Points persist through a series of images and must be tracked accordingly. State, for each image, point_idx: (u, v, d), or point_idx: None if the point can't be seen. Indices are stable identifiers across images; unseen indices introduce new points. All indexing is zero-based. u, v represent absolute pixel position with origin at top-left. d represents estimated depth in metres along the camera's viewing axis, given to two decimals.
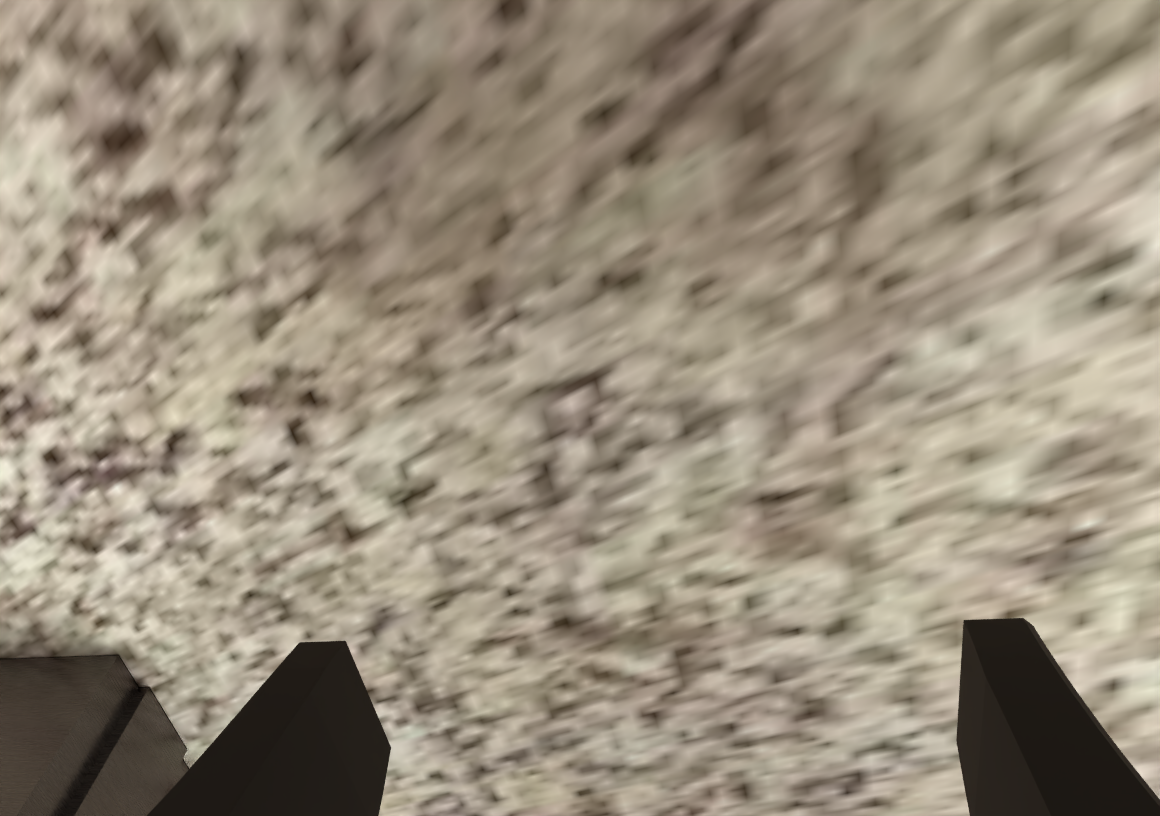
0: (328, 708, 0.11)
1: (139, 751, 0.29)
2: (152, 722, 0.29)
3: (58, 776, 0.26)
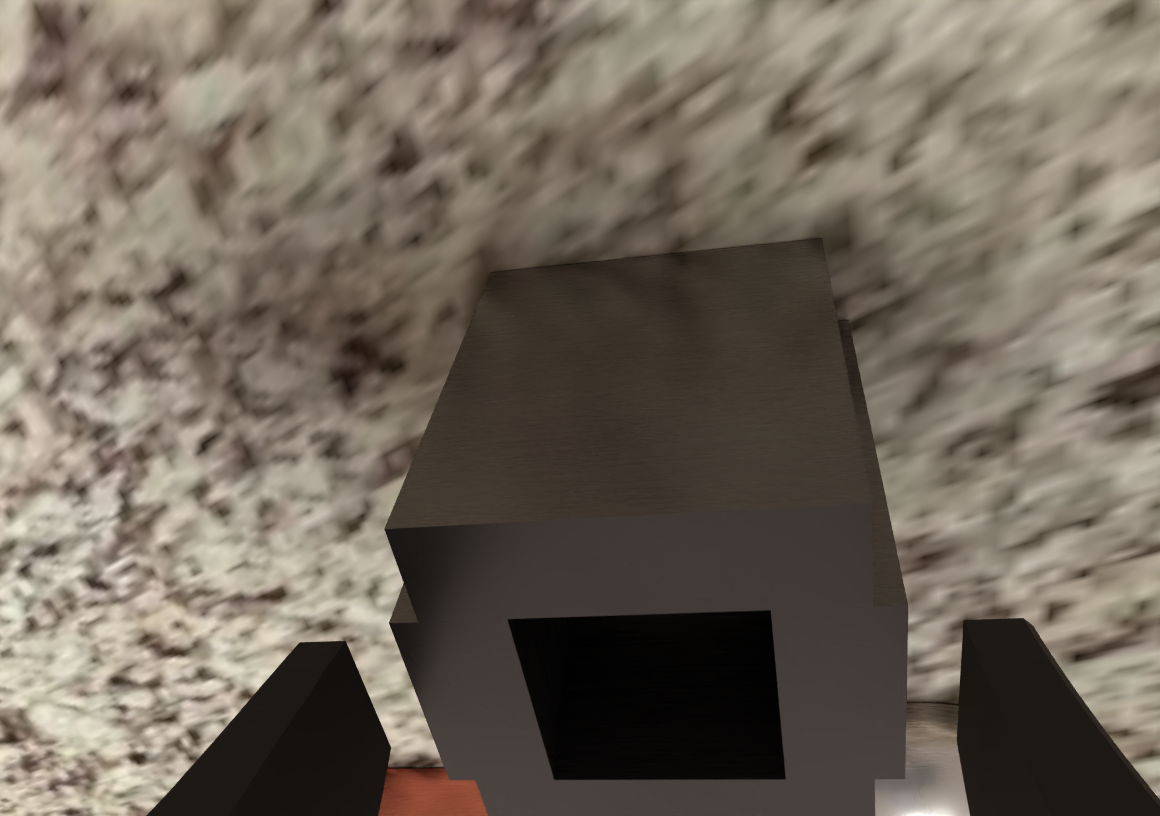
0: (328, 708, 0.11)
1: None
2: None
3: None
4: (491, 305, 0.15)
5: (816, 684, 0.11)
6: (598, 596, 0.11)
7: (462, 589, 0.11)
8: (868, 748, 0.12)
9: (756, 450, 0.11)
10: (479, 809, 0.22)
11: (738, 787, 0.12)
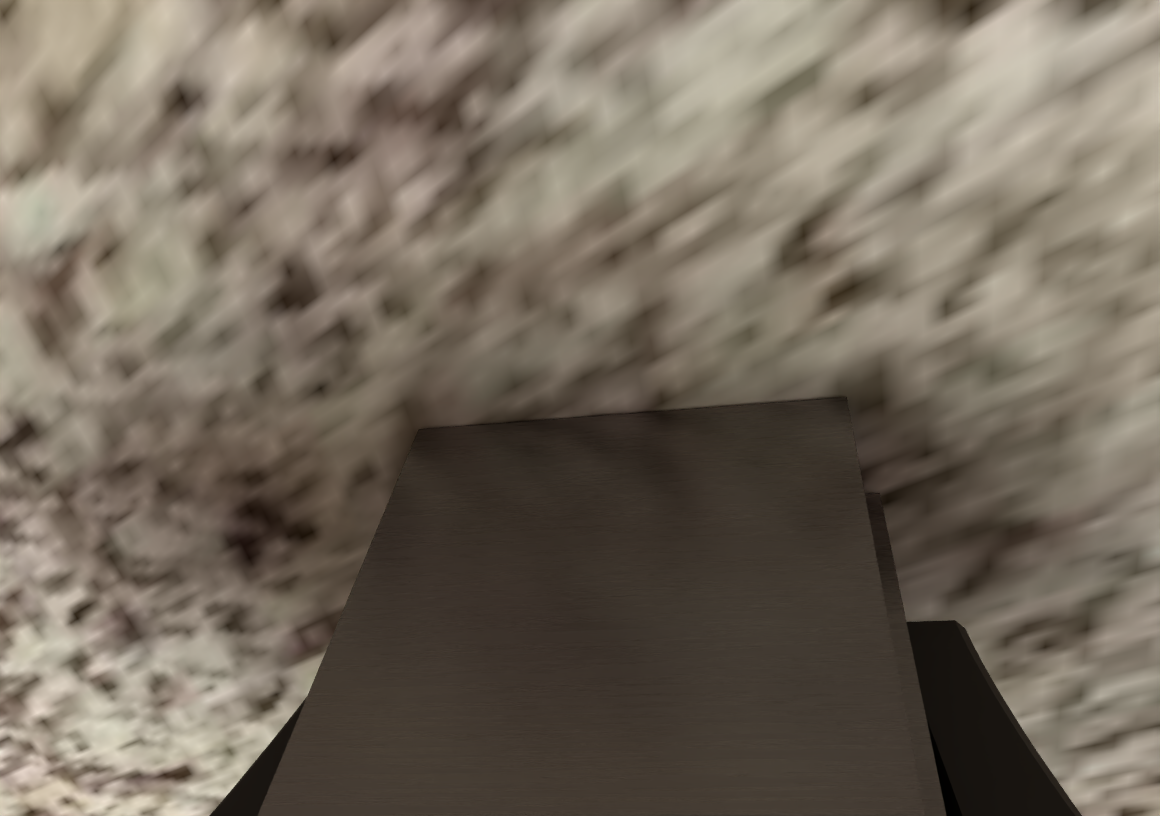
0: None
1: None
2: None
3: None
4: (413, 486, 0.11)
5: None
6: None
7: None
8: None
9: (766, 799, 0.07)
10: None
11: None
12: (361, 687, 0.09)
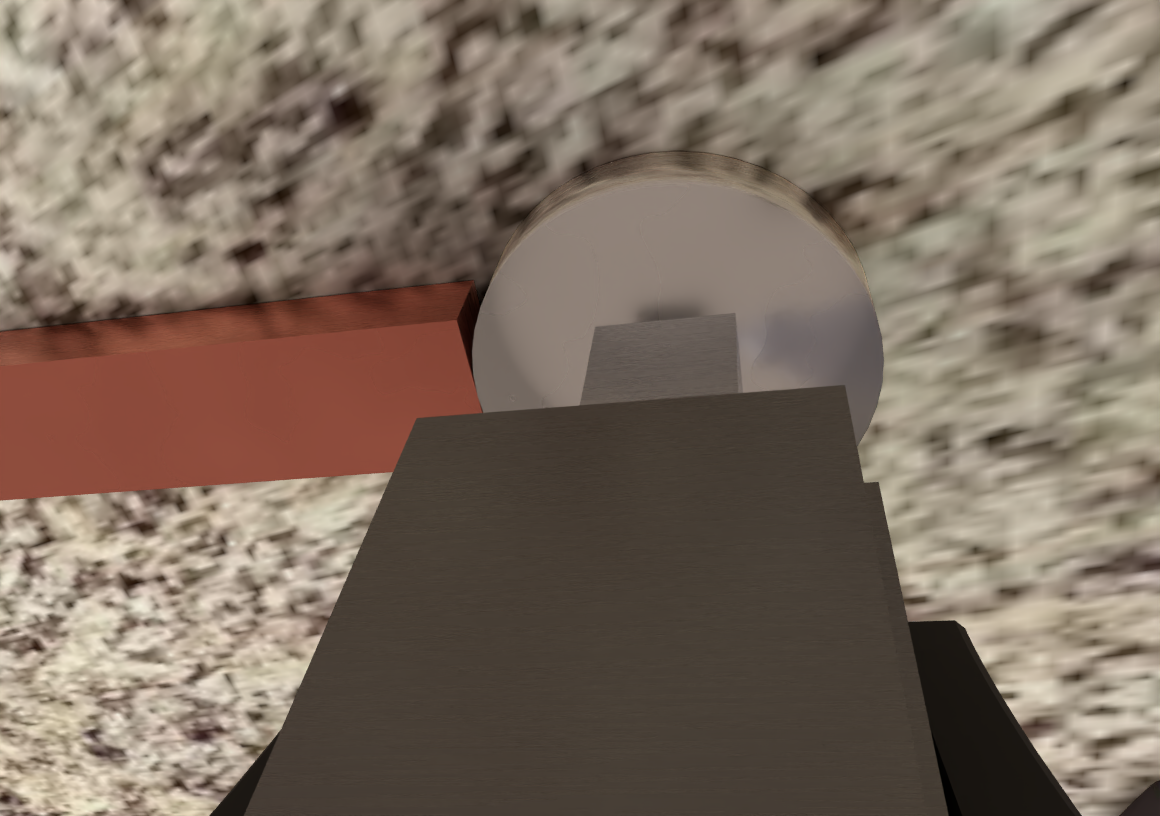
0: None
1: None
2: None
3: None
4: (410, 473, 0.11)
5: None
6: None
7: None
8: None
9: (761, 778, 0.07)
10: (173, 337, 0.19)
11: None
12: (357, 670, 0.09)
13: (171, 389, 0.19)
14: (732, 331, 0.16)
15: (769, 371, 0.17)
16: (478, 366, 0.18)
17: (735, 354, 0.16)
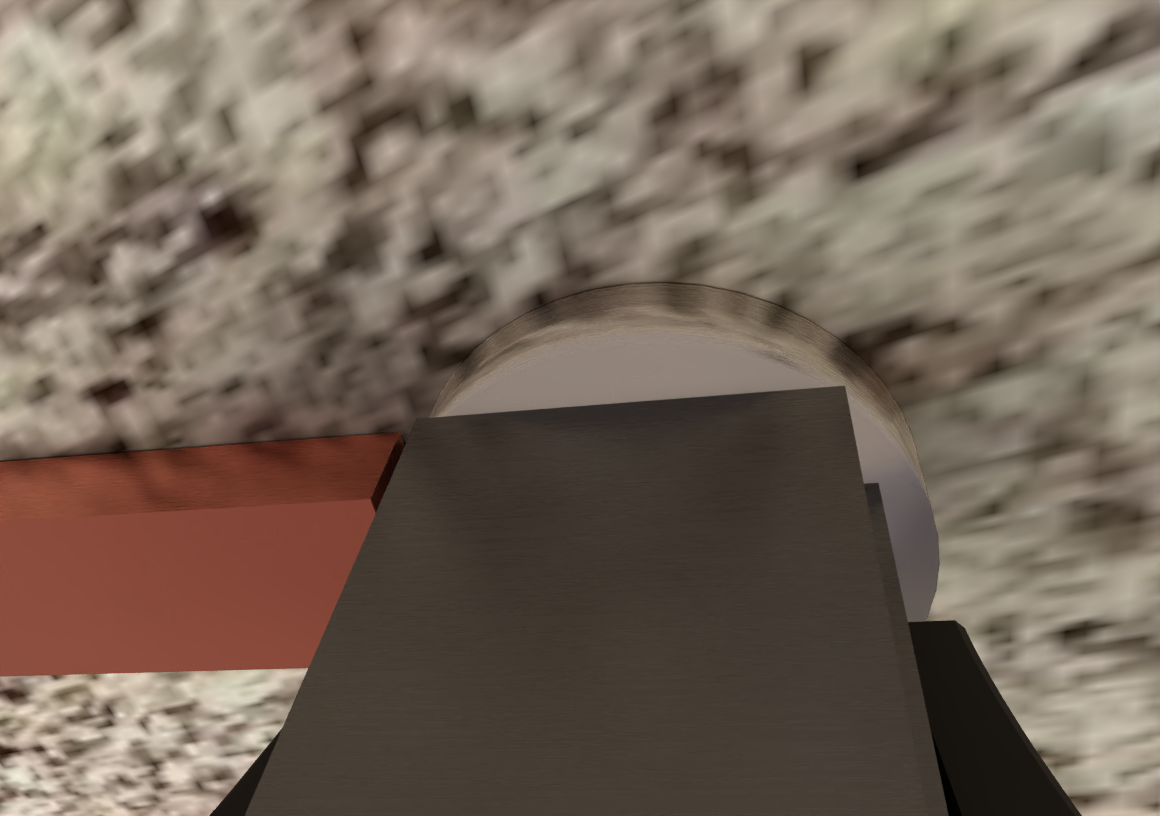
0: None
1: None
2: None
3: None
4: (410, 474, 0.11)
5: None
6: None
7: None
8: None
9: (763, 779, 0.07)
10: (12, 501, 0.15)
11: None
12: (357, 671, 0.09)
13: (11, 567, 0.15)
14: None
15: None
16: None
17: None
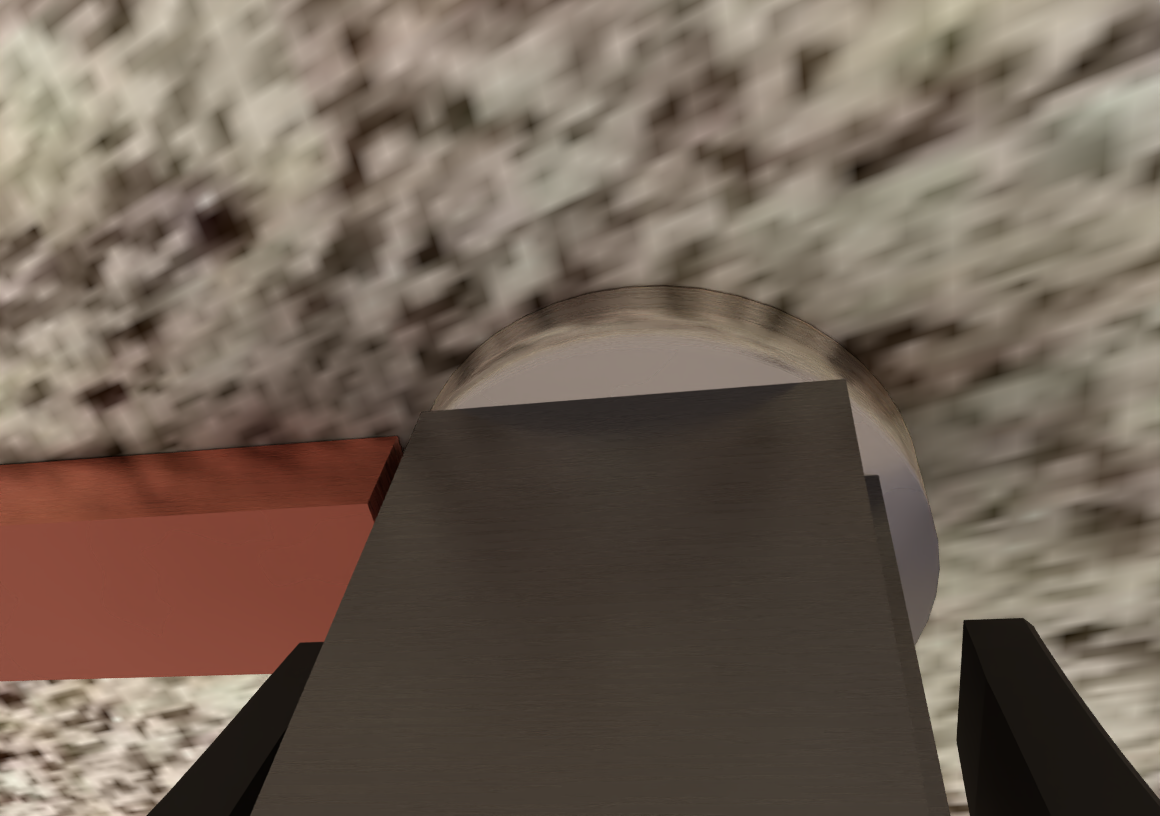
0: None
1: None
2: None
3: None
4: (416, 467, 0.11)
5: None
6: None
7: None
8: None
9: (764, 765, 0.07)
10: (7, 505, 0.15)
11: None
12: (365, 660, 0.09)
13: (6, 571, 0.15)
14: None
15: None
16: None
17: None
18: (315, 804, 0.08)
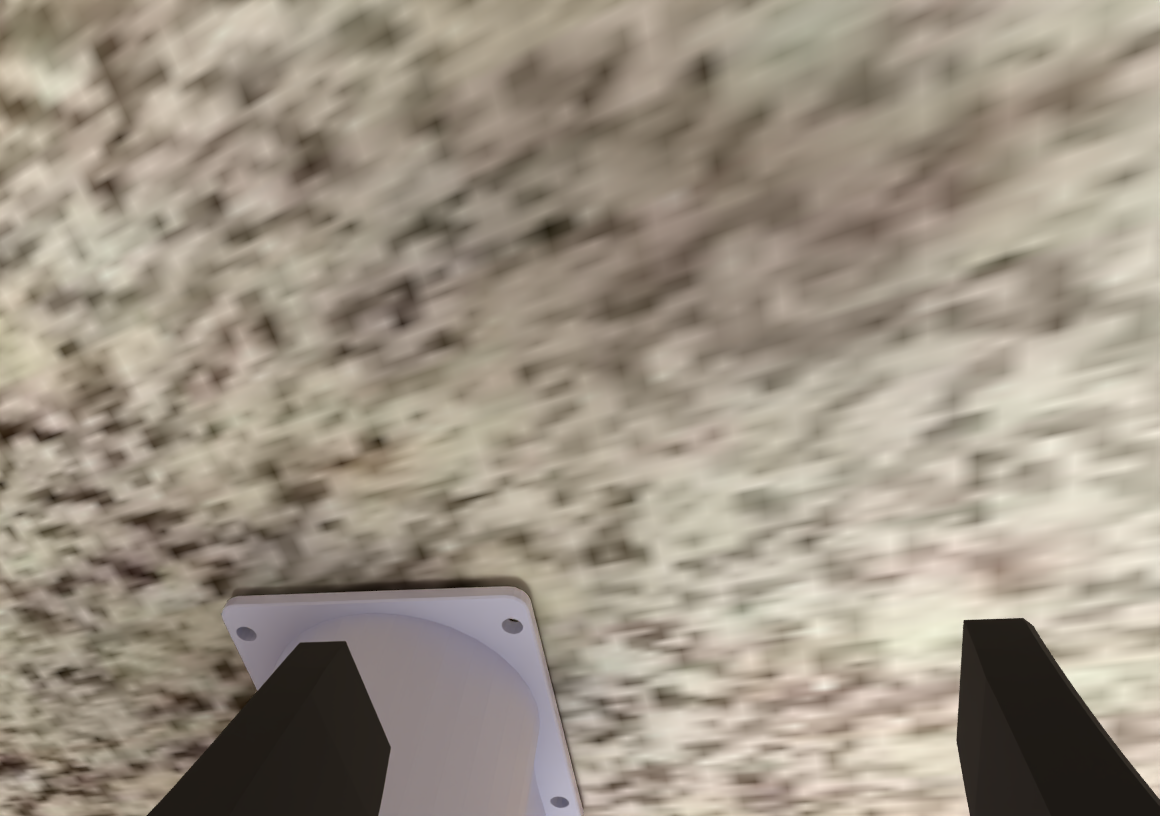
0: (328, 708, 0.11)
1: None
2: None
3: None
4: None
5: None
6: None
7: None
8: None
9: None
10: None
11: None
12: None
13: None
14: None
15: None
16: None
17: None
18: None
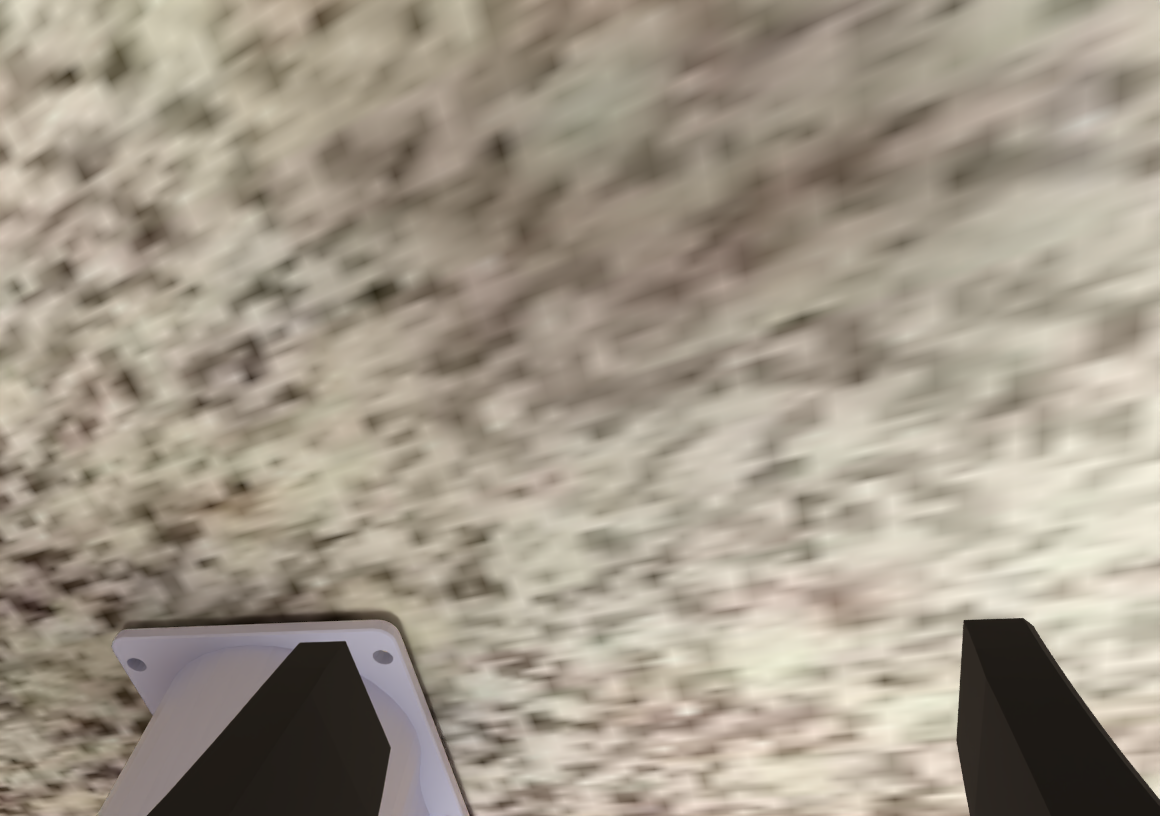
0: (328, 708, 0.11)
1: None
2: None
3: None
4: None
5: None
6: None
7: None
8: None
9: None
10: None
11: None
12: None
13: None
14: None
15: None
16: None
17: None
18: None
